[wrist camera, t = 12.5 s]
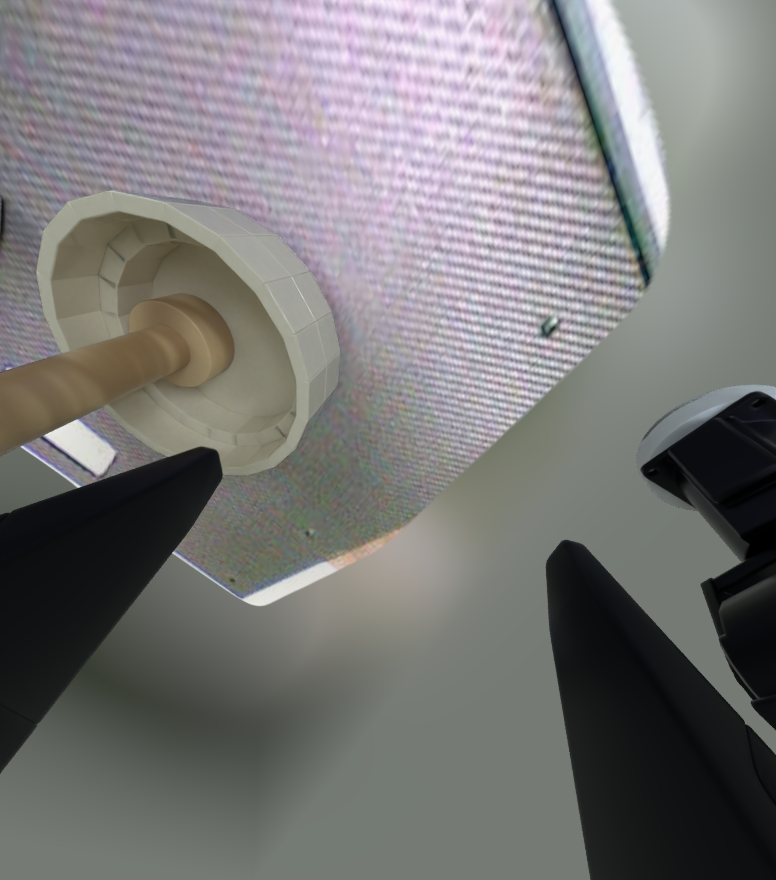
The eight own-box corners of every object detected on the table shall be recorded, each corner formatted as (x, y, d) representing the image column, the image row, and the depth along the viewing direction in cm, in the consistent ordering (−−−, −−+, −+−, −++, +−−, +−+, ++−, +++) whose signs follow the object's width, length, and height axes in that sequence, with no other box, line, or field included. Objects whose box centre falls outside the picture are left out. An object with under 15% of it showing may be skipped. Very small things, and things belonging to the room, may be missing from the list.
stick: (243, 325, 19) (-38, 445, 8) (225, 387, 22) (-3, 536, 11) (165, 274, 19) (-260, 334, 8) (156, 345, 21) (-161, 462, 11)
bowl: (381, 295, 17) (354, 317, 13) (302, 460, 26) (269, 508, 21) (135, 141, 16) (3, 104, 11) (135, 370, 24) (59, 402, 19)
